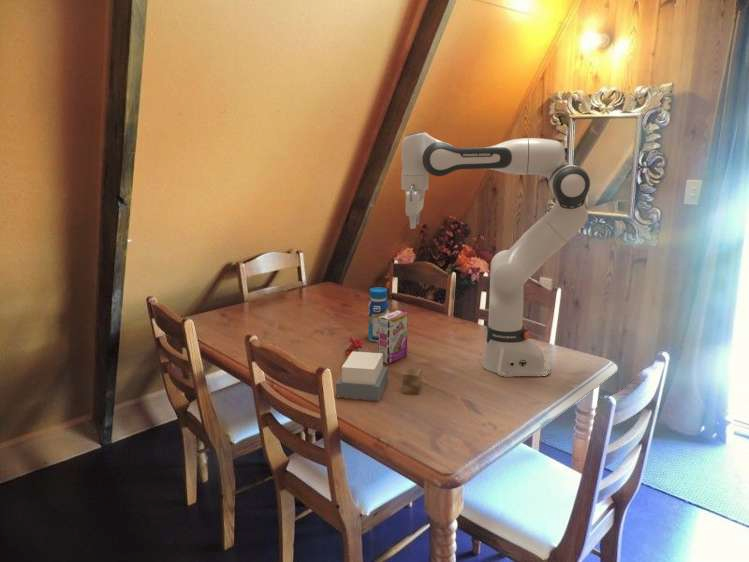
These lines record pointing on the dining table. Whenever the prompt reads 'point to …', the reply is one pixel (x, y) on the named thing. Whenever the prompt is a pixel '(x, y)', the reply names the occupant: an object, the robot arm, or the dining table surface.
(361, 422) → the dining table surface
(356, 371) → the tower top
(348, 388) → the tower base
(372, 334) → the beverage bottle
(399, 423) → the dining table surface
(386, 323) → the candy bar box
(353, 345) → the bird rattle
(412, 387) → the walnut block
